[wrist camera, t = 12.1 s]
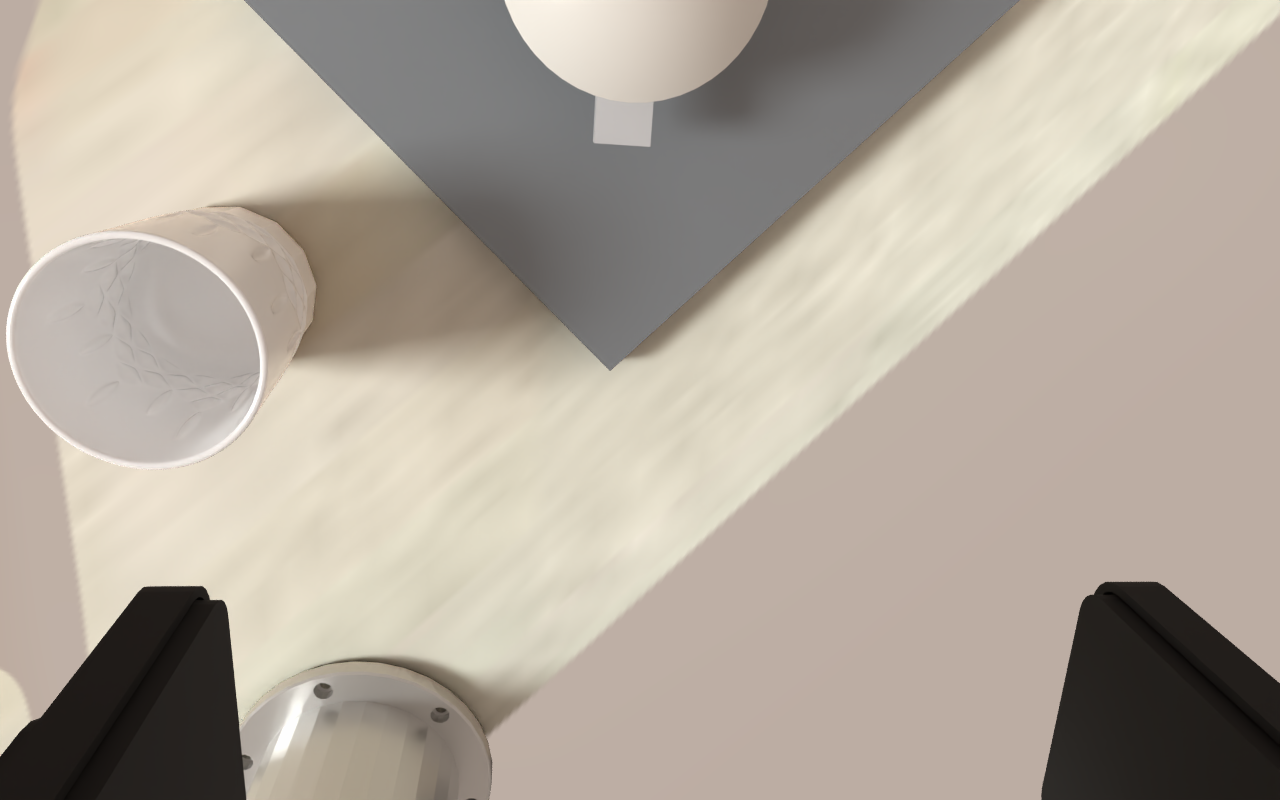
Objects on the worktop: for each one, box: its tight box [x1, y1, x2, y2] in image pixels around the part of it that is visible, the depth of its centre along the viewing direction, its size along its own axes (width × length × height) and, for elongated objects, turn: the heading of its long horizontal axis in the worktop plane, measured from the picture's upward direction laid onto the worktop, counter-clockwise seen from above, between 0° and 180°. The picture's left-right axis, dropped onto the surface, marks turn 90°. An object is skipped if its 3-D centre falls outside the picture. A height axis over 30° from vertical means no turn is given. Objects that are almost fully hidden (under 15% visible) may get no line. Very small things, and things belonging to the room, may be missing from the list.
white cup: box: [6, 207, 317, 470], centre depth 36 cm, size 8×8×10 cm
